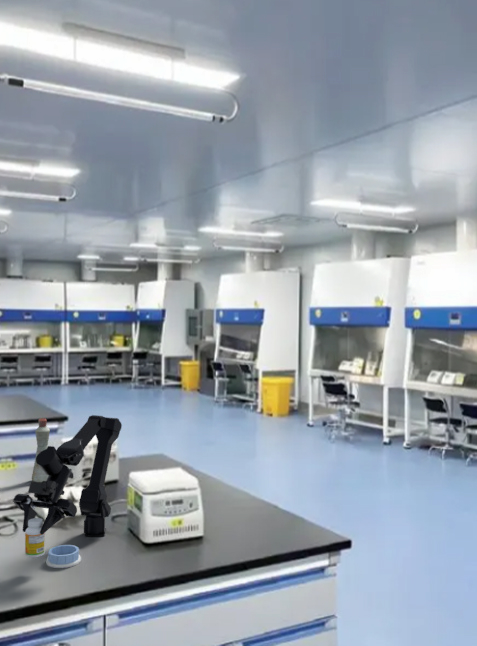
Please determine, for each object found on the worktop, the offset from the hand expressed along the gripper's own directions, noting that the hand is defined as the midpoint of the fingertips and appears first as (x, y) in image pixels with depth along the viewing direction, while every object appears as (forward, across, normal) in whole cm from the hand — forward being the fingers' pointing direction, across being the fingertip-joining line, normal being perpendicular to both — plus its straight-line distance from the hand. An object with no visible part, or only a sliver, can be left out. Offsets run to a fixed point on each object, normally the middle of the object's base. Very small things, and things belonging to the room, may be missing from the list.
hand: (32, 532), depth 173 cm
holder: (+1, +3, +16) cm, 16 cm away
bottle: (-50, -56, +68) cm, 101 cm away
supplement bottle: (+4, 0, +6) cm, 7 cm away
